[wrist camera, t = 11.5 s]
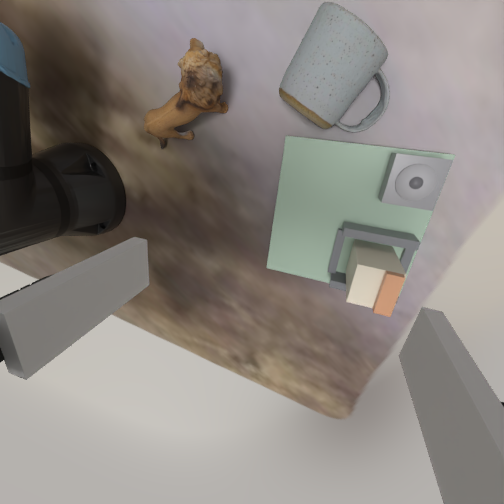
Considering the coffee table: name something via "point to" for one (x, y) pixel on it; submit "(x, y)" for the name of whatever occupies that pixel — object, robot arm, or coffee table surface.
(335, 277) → the header
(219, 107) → the lion figurine
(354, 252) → the plug
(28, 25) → the coffee table surface
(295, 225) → the board
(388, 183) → the fan
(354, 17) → the ceramic mug
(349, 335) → the coffee table surface
